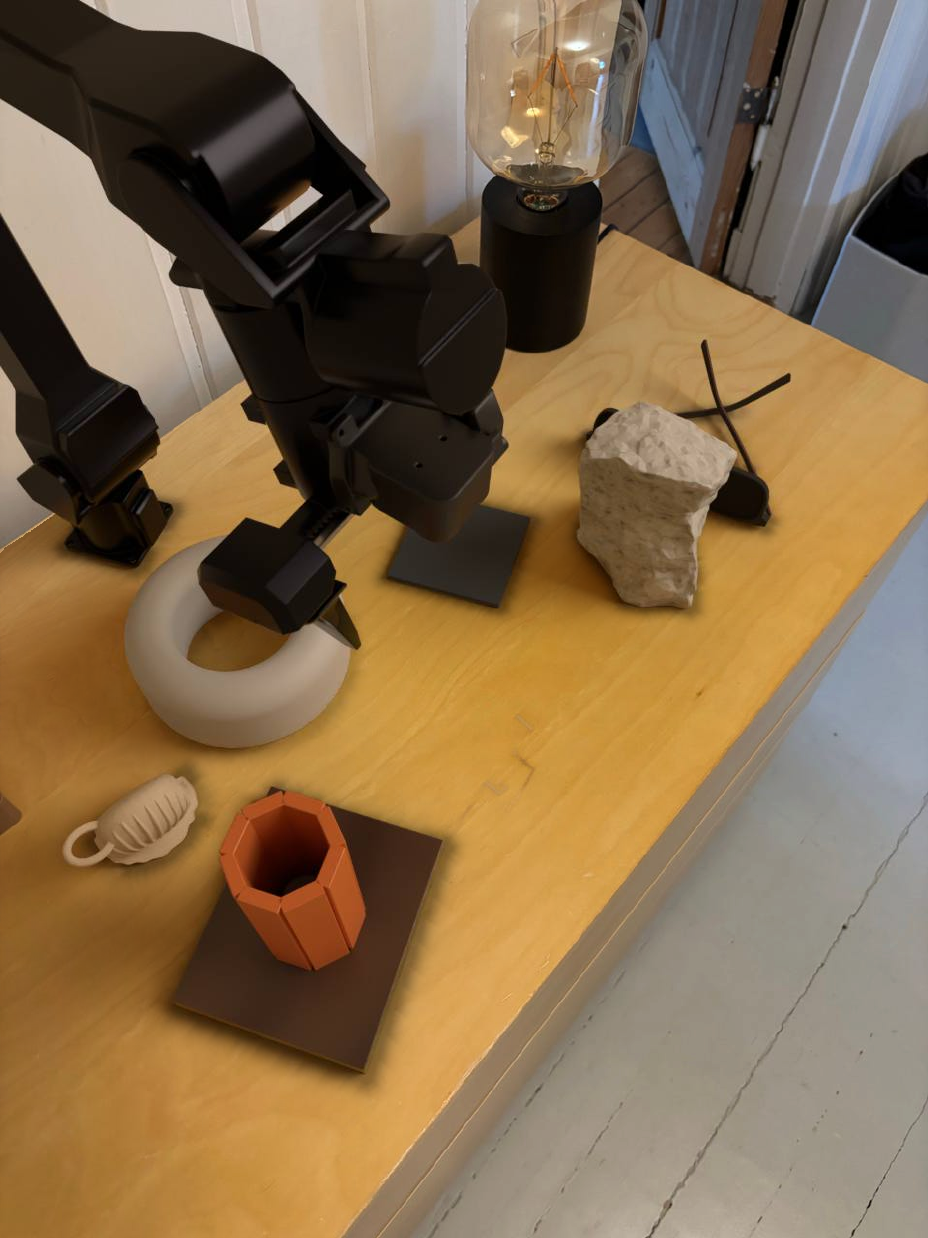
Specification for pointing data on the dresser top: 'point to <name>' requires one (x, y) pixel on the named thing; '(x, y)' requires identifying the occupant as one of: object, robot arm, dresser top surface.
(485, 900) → the dresser top surface
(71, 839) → the decorative ornament
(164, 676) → the fat ring
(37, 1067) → the dresser top surface
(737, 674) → the dresser top surface
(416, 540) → the felt mat
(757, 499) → the sunglasses
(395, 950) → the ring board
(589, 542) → the decorative stone
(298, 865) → the octagonal orange vase
